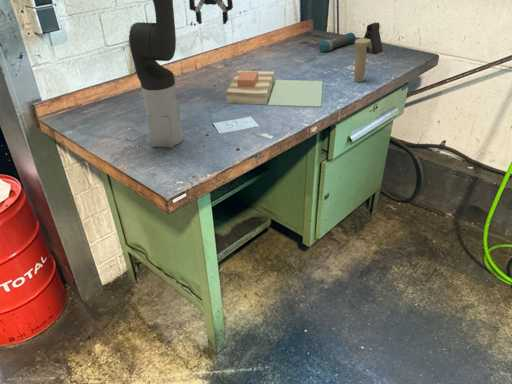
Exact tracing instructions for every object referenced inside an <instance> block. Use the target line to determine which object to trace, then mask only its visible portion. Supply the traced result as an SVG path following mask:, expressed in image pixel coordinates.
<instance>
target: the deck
mask: <svg viewBox="0 0 512 384" xmlns="http://www.w3.org/2000/svg"><path fill="white" fill-rule="evenodd" d="M242 71H244V72H258V80H257V82H256V85H255V87H238V84H237V80H238V78H239V76H240V74H241V72H242ZM274 84H275V71H267V70H265V71H261V70H260V71H259V70H257V71H255V70H237V72H236V74H235V75H234V77H233V79H232V81H231V82H230V84H229V86H228V88H227V90H226V92H225V97H226V104H236V105H237V104H238V105H239V104H240V105H241V104H242V105H268V102H269V99H270V96H271V93H272V90H273V87H274Z"/></svg>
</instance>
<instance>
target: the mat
mask: <svg viewBox="0 0 512 384" xmlns="http://www.w3.org/2000/svg"><path fill="white" fill-rule="evenodd" d="M323 82H324V81H322V80H299V79H298V80H295V79H294V80H293V79H291V80H290V79H288V80H287V79H275V80H274V84H273V87H272V90H271V93H270V96H269V99H268V102H267V106H268V107H269V106H271V107H295V108H296V107H302V108H303V107H305V108H322V97H323Z"/></svg>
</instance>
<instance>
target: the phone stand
mask: <svg viewBox="0 0 512 384" xmlns="http://www.w3.org/2000/svg"><path fill="white" fill-rule="evenodd" d="M380 25H381V24H380V22H377V21H375V22H372V23H370V24H368V25H367V26H366V31H365V35H364V36H363V38H366V39H370V40H371V41H370V45H371V47H370V45H369V46H368V47H367V50H366V54H371V55H377V54H380V53H383V45H382V39H381V32H380Z"/></svg>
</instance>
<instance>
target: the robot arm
mask: <svg viewBox="0 0 512 384" xmlns="http://www.w3.org/2000/svg"><path fill="white" fill-rule="evenodd" d="M226 1H227V5H226V4H225V2H224V0H200V1H199V2H198V4H197V6H196V3H195V0H188V2H189V10H190V11H194V12H195V19H196V20H195V21H196V22H197V23H198V25H201V24H202V23H203V20H202V11H201V9H202V7H203V6H204V5H206V6H208V5H209V6H210V5H213V6H214V5H217V6H218V7H219V8H220V9H221V11H222V24H223V25H226V24H227V22H228V21H229V14H228V12H229V11H232V9H233V8H234V5H233V0H226ZM152 3H153V7H154V14H155V22H139V21H138V22H135V23H133V24H132V26H131V27H130V29H129V36H128V38H129V39H128V40H129V48H130V53H131V56H132V62H133V63H134V64H133V65H134V69H135V73H136V76H137V78H138V81H139V82H140V88H141V91H142V92H141V93H142V99H143V103H144V109H145V114H146V120H147V124H148V125H147V126H148V131H149V135H150V141H151V146H152V148H170V149H171V148H174V147H175V146H177V145H179V144H180V143H181V142H182V141H183V140H184V136H183V130H182V129H183V128H182V124H181V116H180V108H179V100H178V95H177V94H178V93H177V87H176V86H177V85H176V80H175V74H174V73H173V71H171V70H170V69H168V68H167V67H164V66H163V65H161V64H160V63H158V61H159V62H161V61H162V62H168V61H171V60H173V58H174V56H175V54H176V45H177V37H176V25H175V24H176V23H175V13H174V2H173V0H152Z"/></svg>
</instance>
